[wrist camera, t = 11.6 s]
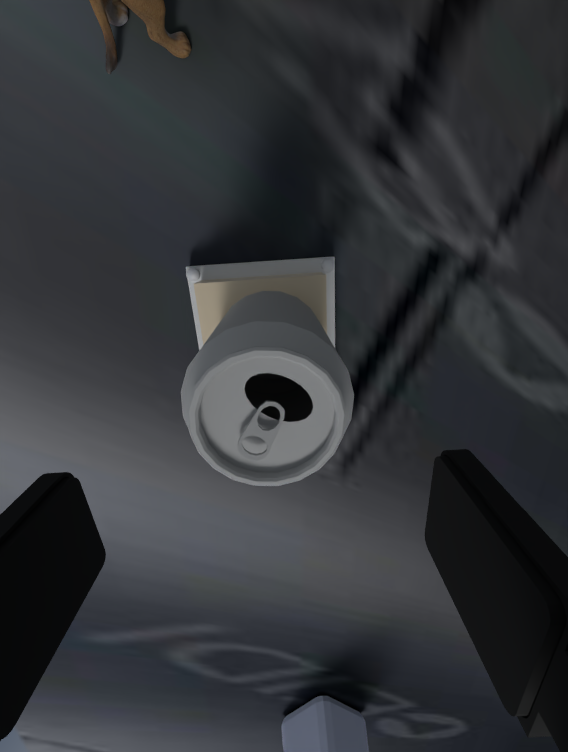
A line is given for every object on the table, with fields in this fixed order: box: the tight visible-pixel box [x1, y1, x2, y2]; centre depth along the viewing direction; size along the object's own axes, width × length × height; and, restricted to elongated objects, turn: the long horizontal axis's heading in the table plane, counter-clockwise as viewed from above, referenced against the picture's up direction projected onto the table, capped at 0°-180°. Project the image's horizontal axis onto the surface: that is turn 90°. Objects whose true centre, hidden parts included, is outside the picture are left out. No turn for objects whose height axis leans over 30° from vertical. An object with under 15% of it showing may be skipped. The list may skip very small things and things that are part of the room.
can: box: [181, 291, 354, 486], centre depth 18 cm, size 8×8×12 cm
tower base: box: [186, 257, 335, 350], centre depth 25 cm, size 11×11×4 cm
